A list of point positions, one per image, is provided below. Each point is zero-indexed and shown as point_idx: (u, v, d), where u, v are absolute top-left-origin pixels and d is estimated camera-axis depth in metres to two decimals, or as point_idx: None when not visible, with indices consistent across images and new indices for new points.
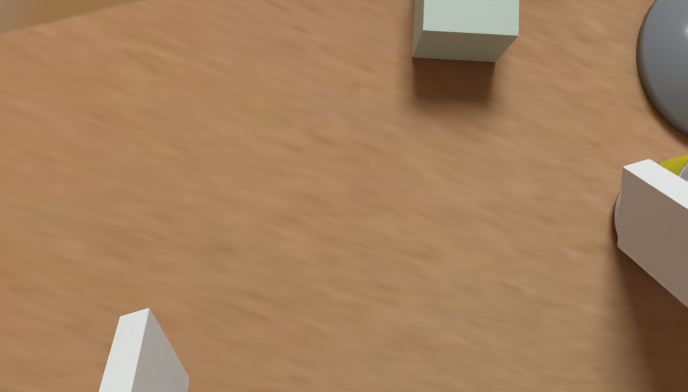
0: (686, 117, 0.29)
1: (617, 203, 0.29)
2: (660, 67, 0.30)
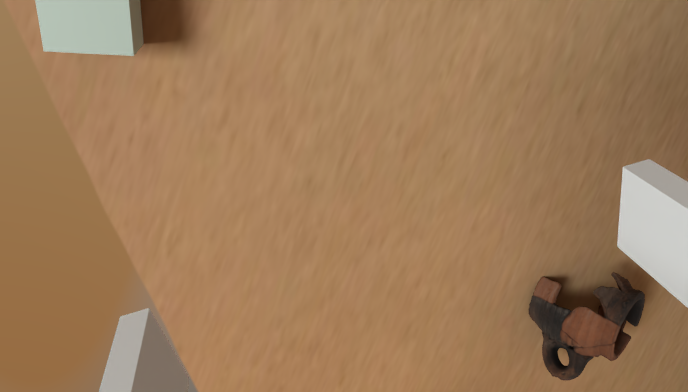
0: None
1: None
2: None
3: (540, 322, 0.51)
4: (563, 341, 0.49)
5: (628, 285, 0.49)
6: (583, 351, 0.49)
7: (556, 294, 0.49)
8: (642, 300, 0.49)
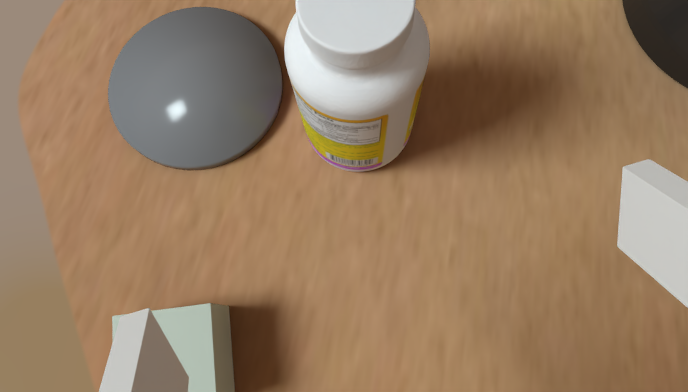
0: (261, 120, 0.31)
1: None
2: (216, 148, 0.31)
3: None
4: None
5: None
6: None
7: None
8: None
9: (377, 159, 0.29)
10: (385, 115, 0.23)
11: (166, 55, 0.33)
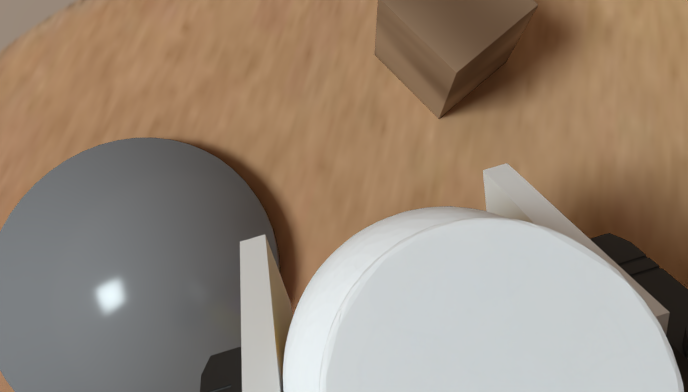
0: None
1: None
2: None
3: None
4: None
5: None
6: None
7: None
8: None
9: None
10: None
11: (85, 223, 0.20)
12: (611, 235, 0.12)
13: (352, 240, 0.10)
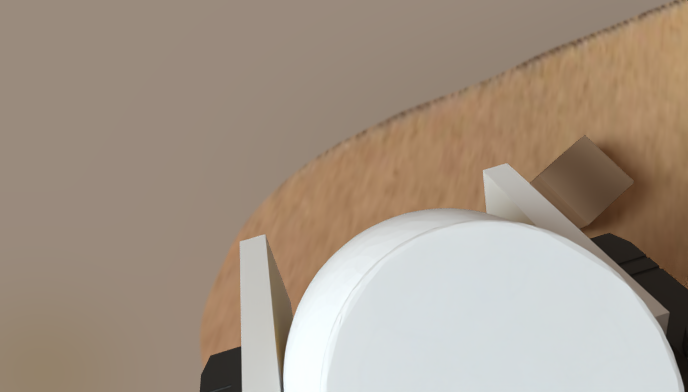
0: None
1: None
2: None
3: None
4: None
5: None
6: None
7: None
8: None
9: None
10: None
11: None
12: (611, 235, 0.12)
13: (352, 242, 0.10)
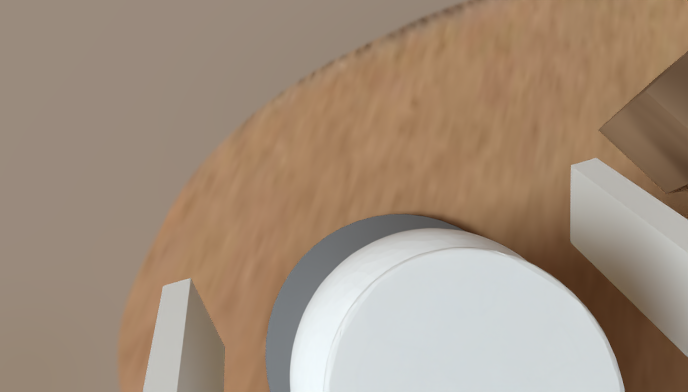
0: None
1: None
2: None
3: None
4: None
5: None
6: None
7: None
8: None
9: None
10: None
11: None
12: None
13: (351, 259, 0.11)
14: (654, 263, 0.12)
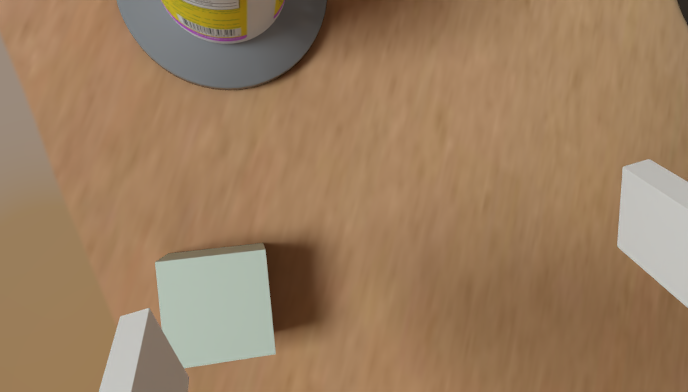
0: (304, 40, 0.28)
1: (212, 41, 0.26)
2: (253, 68, 0.27)
3: None
4: None
5: None
6: None
7: None
8: None
9: (240, 30, 0.25)
10: None
11: None
12: None
13: None
14: None
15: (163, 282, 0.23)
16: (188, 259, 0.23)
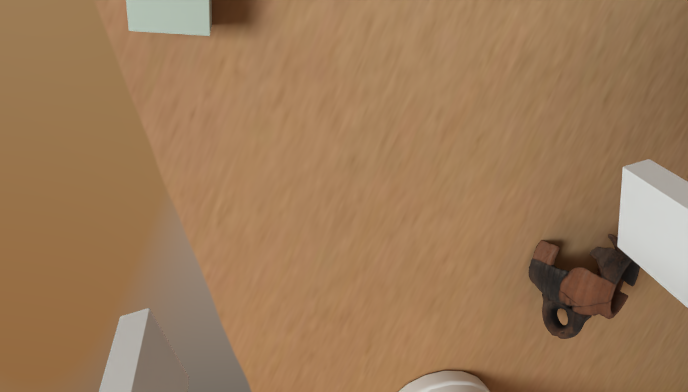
0: None
1: None
2: None
3: (539, 284, 0.53)
4: (561, 301, 0.51)
5: None
6: (581, 310, 0.50)
7: (555, 256, 0.51)
8: None
9: None
10: None
11: None
12: None
13: None
14: None
15: None
16: None
